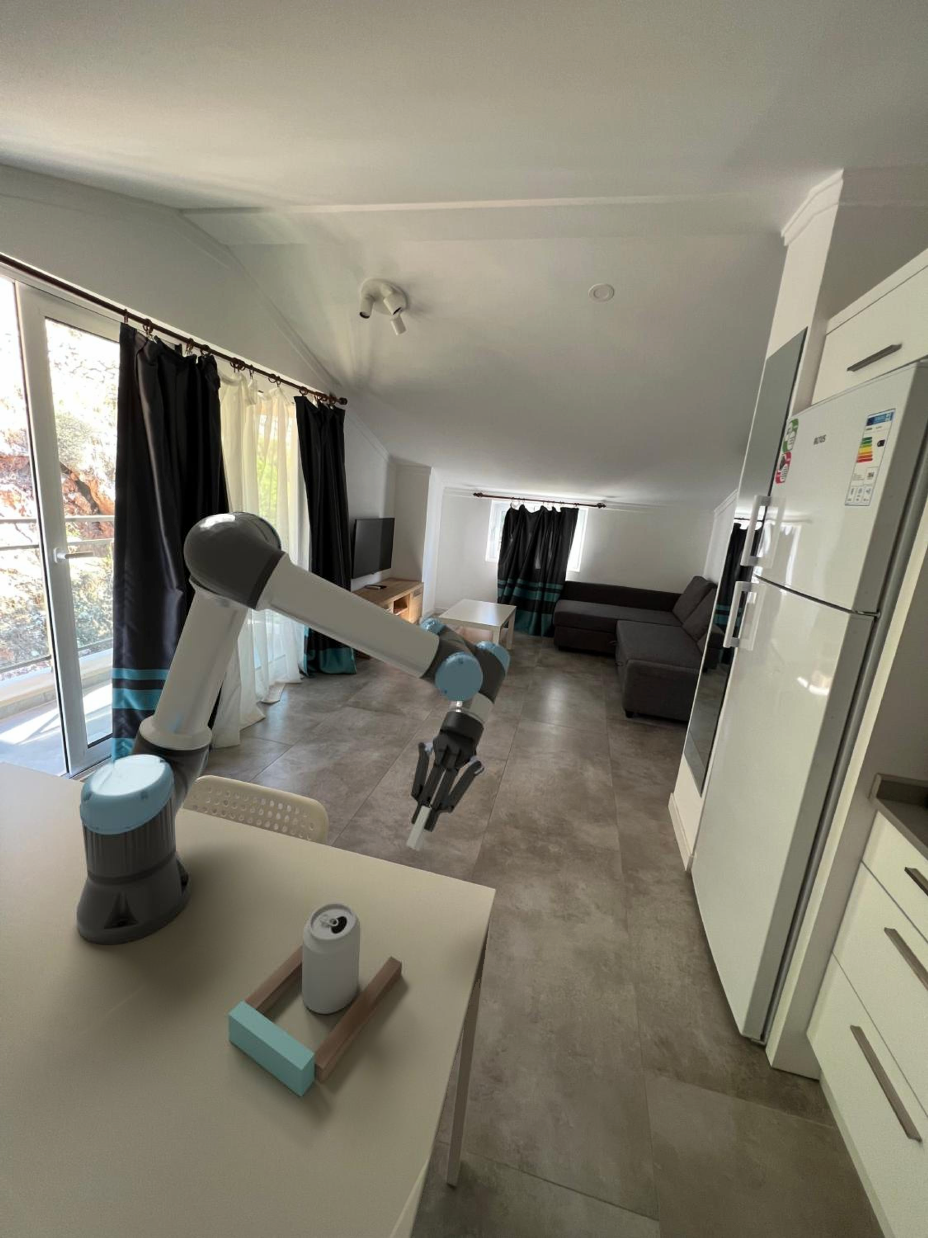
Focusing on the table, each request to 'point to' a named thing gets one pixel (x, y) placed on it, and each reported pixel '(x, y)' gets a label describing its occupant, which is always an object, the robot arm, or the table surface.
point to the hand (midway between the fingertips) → (412, 848)
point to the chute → (350, 1021)
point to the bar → (272, 1048)
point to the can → (330, 958)
